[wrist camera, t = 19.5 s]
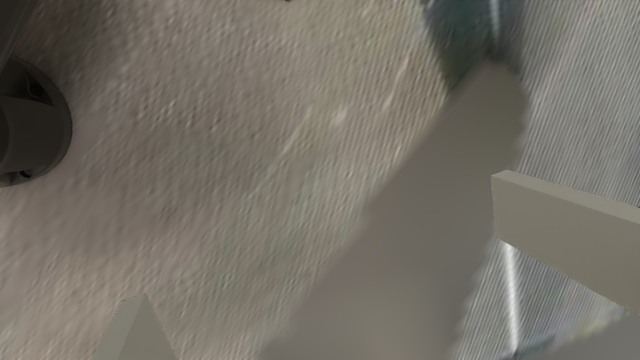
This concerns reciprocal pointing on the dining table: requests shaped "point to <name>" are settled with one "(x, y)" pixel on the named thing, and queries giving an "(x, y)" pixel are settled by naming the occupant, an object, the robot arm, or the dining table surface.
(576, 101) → the dining table surface
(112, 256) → the dining table surface
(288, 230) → the dining table surface
